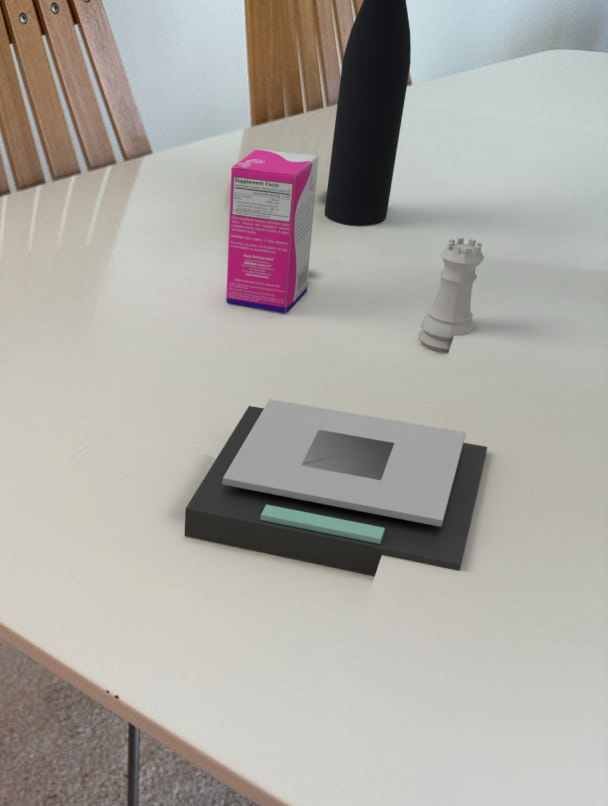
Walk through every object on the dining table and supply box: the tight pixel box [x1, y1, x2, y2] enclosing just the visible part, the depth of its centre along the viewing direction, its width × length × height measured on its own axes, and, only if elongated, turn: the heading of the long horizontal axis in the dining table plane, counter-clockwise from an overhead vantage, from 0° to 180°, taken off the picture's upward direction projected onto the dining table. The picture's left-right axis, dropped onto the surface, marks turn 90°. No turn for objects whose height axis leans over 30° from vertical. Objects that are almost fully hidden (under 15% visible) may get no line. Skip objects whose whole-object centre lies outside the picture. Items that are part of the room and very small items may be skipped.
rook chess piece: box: [417, 237, 485, 354], centre depth 82 cm, size 4×4×8 cm
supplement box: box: [225, 148, 319, 315], centre depth 88 cm, size 6×6×12 cm
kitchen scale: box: [183, 399, 488, 576], centre depth 65 cm, size 16×14×3 cm
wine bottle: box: [324, 0, 412, 227], centre depth 99 cm, size 6×6×30 cm
